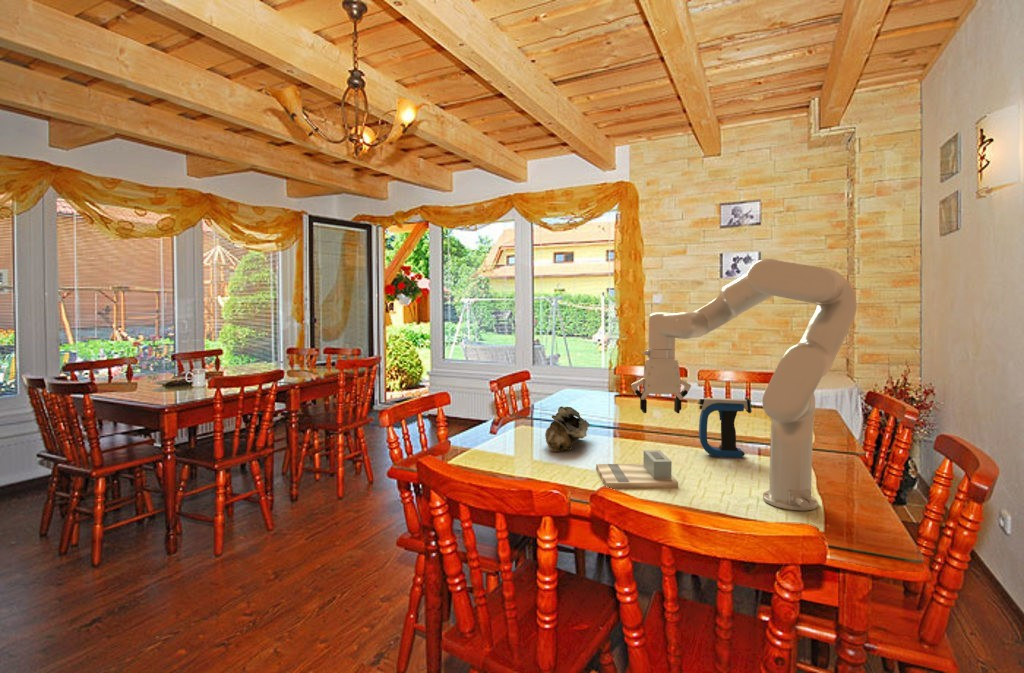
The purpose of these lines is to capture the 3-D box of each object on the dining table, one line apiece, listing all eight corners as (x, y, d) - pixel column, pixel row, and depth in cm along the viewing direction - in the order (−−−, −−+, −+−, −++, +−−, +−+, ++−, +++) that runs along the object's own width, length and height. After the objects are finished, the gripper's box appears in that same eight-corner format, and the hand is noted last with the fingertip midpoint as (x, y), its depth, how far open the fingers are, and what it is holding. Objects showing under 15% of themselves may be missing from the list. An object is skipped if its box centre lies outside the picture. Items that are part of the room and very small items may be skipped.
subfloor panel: (678, 487, 152) (678, 481, 152) (606, 488, 152) (606, 482, 152) (660, 468, 170) (660, 463, 170) (596, 468, 170) (596, 463, 170)
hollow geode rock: (575, 447, 213) (550, 418, 217) (598, 426, 209) (572, 397, 213) (553, 465, 187) (525, 431, 191) (579, 441, 184) (550, 407, 187)
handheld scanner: (751, 459, 179) (752, 399, 178) (700, 456, 182) (700, 398, 181) (748, 455, 183) (749, 397, 182) (698, 453, 186) (698, 396, 186)
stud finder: (671, 478, 155) (671, 460, 154) (653, 478, 155) (653, 461, 154) (659, 466, 167) (659, 449, 166) (643, 466, 167) (643, 449, 166)
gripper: (634, 355, 156) (633, 414, 158) (695, 356, 156) (693, 415, 157) (629, 353, 164) (628, 409, 165) (687, 353, 164) (686, 409, 165)
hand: (660, 412), depth 161 cm, fingers open, 9 cm apart
